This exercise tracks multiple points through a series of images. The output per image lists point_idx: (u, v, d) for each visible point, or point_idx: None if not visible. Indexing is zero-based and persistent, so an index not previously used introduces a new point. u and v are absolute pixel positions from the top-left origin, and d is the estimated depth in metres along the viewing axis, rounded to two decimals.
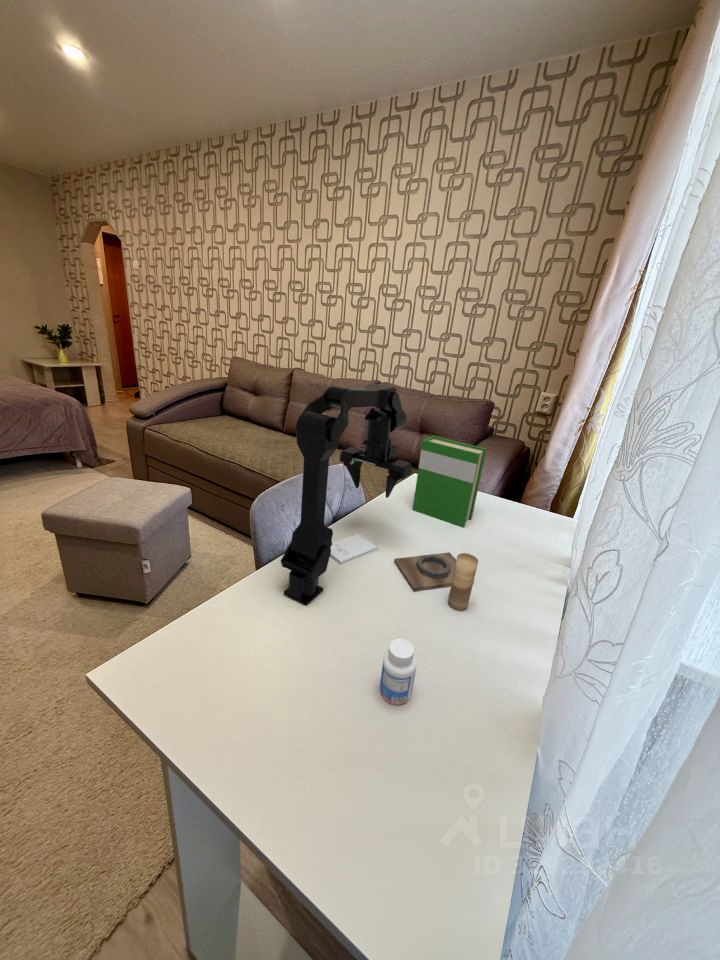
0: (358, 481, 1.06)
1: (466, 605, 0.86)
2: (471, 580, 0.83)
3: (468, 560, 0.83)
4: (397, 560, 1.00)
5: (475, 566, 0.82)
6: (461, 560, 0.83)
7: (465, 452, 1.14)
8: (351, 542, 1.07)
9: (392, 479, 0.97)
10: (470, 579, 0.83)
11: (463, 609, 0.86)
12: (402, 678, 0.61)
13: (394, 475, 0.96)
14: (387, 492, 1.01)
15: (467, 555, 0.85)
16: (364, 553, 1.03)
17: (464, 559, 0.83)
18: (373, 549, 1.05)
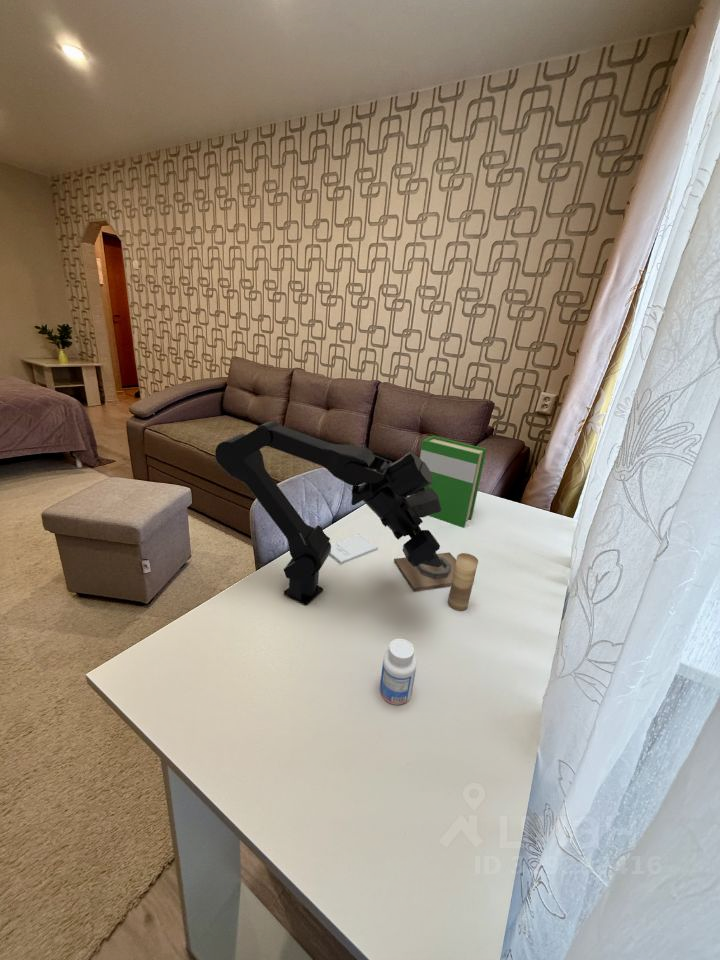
0: None
1: (466, 605, 0.86)
2: (471, 580, 0.83)
3: (468, 560, 0.83)
4: (397, 560, 1.00)
5: (475, 566, 0.82)
6: (461, 560, 0.83)
7: (465, 452, 1.14)
8: (351, 542, 1.07)
9: None
10: (470, 579, 0.83)
11: (463, 609, 0.86)
12: (402, 678, 0.61)
13: None
14: None
15: (467, 555, 0.85)
16: (364, 553, 1.03)
17: (463, 558, 0.83)
18: (373, 549, 1.05)
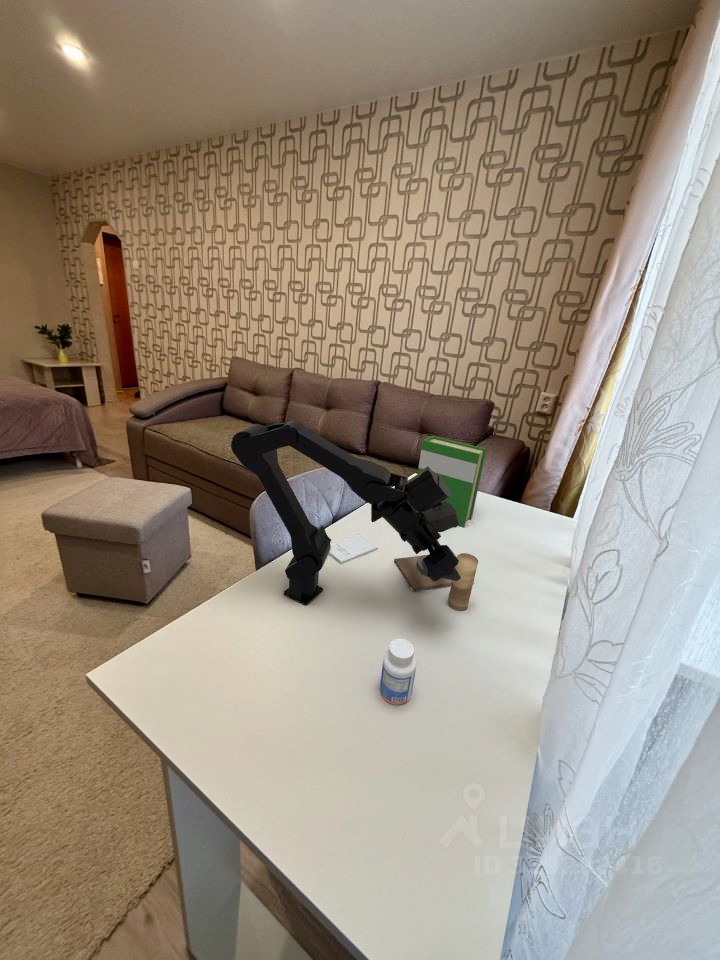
0: None
1: (466, 605, 0.86)
2: (471, 580, 0.83)
3: (468, 560, 0.83)
4: (397, 560, 1.00)
5: (475, 566, 0.82)
6: (461, 560, 0.83)
7: (465, 452, 1.14)
8: (351, 542, 1.07)
9: None
10: (470, 579, 0.83)
11: (463, 609, 0.86)
12: (402, 677, 0.61)
13: None
14: None
15: (467, 555, 0.85)
16: (365, 553, 1.03)
17: (464, 558, 0.83)
18: (374, 549, 1.05)
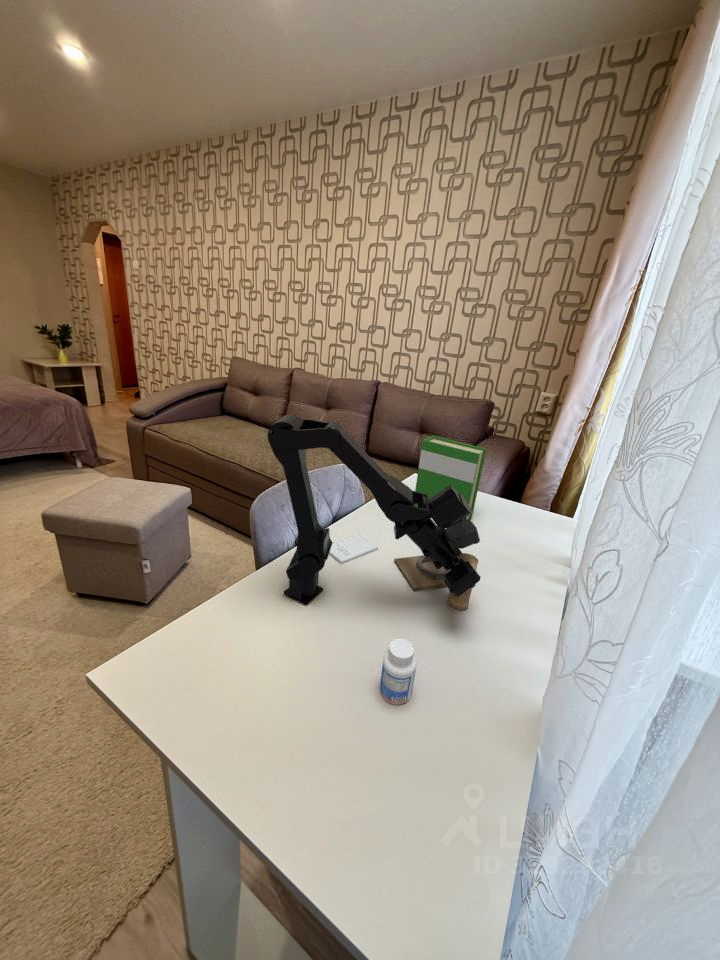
0: None
1: (466, 605, 0.86)
2: None
3: (468, 560, 0.83)
4: (397, 560, 1.00)
5: (475, 566, 0.82)
6: None
7: (465, 452, 1.14)
8: (352, 542, 1.07)
9: None
10: None
11: (463, 609, 0.86)
12: (402, 678, 0.61)
13: None
14: None
15: (467, 555, 0.85)
16: (365, 553, 1.03)
17: (464, 558, 0.83)
18: (374, 549, 1.05)
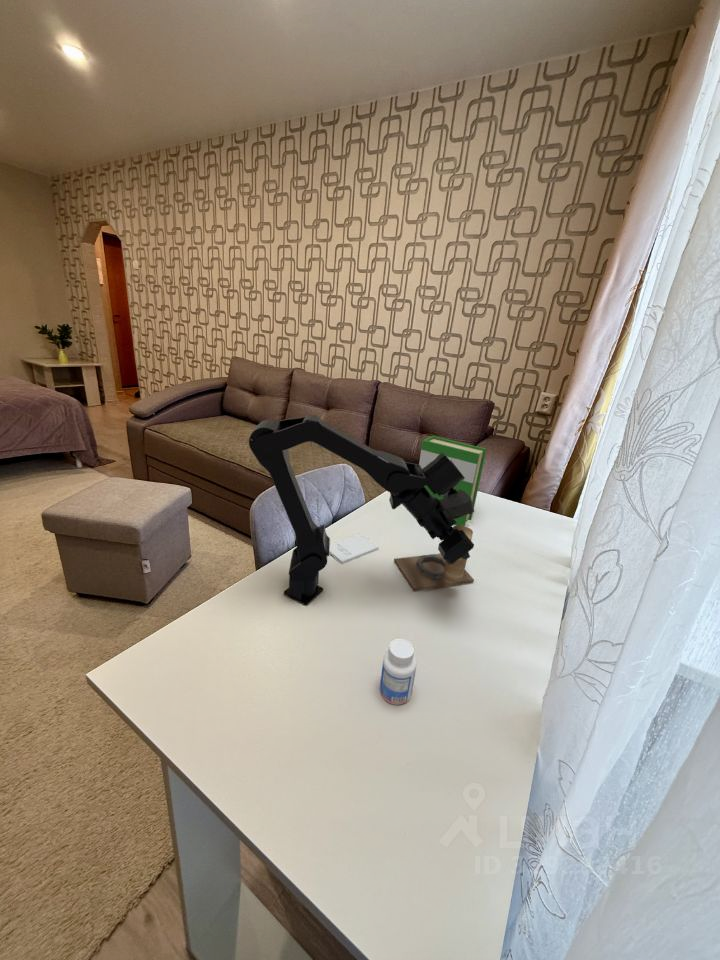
0: None
1: (461, 577, 0.87)
2: None
3: None
4: (397, 560, 1.00)
5: (470, 537, 0.83)
6: None
7: (465, 452, 1.14)
8: (352, 541, 1.07)
9: None
10: None
11: (458, 580, 0.87)
12: (402, 678, 0.61)
13: None
14: None
15: (462, 527, 0.86)
16: (365, 553, 1.03)
17: None
18: (374, 549, 1.05)
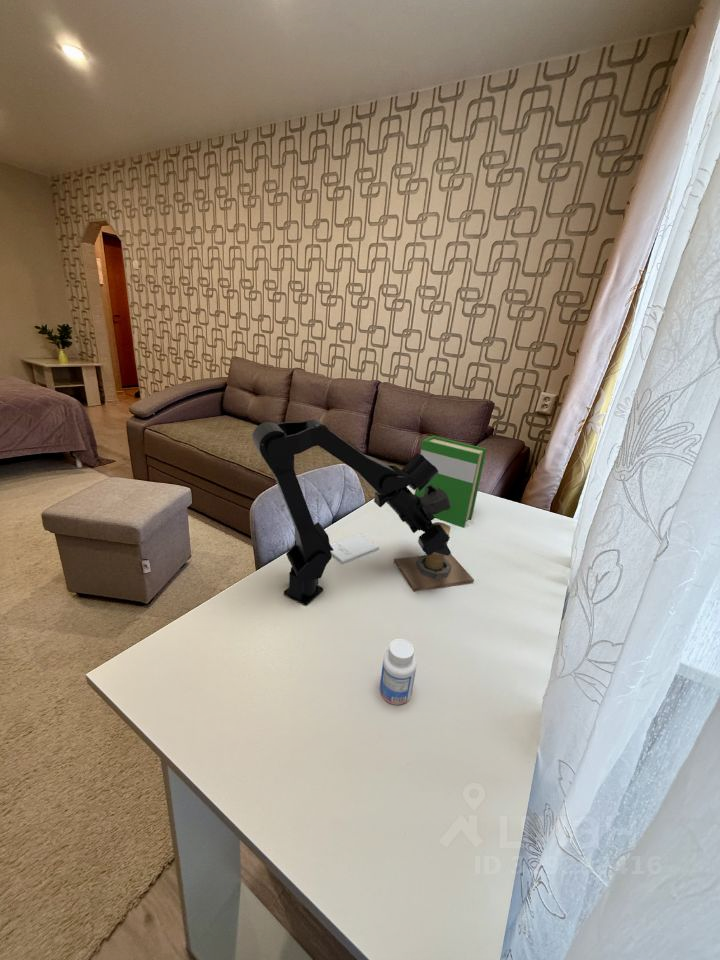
0: None
1: (440, 569, 0.96)
2: None
3: None
4: (397, 560, 1.00)
5: (447, 533, 0.92)
6: None
7: (465, 452, 1.14)
8: (353, 541, 1.07)
9: None
10: None
11: None
12: (402, 678, 0.61)
13: None
14: None
15: (441, 524, 0.95)
16: (366, 553, 1.03)
17: None
18: (375, 549, 1.05)
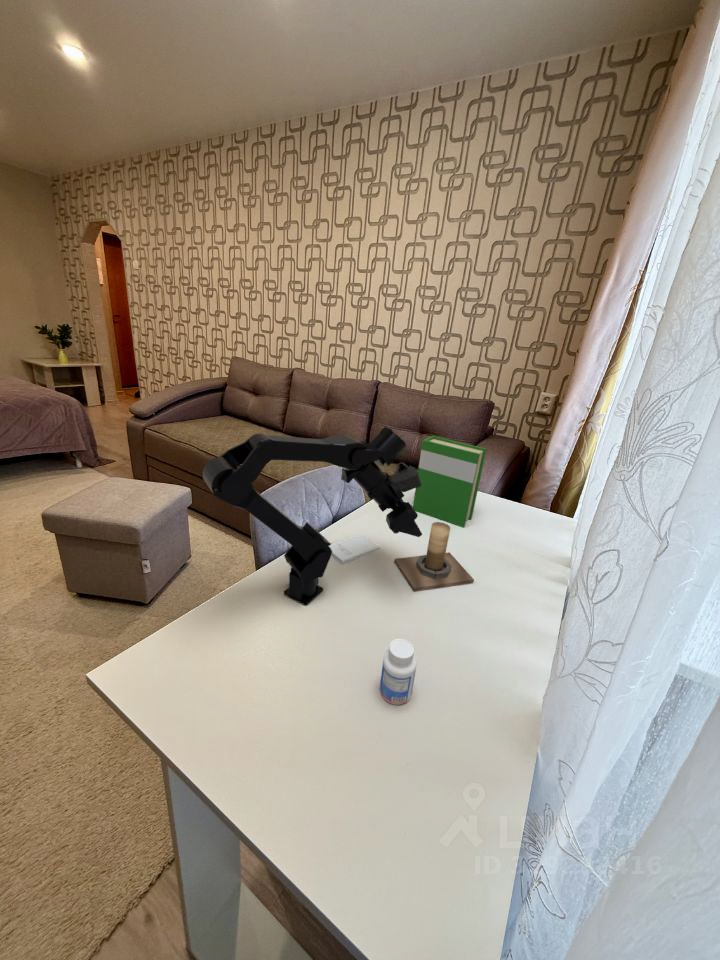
0: None
1: (440, 569, 0.96)
2: (444, 545, 0.93)
3: (441, 527, 0.93)
4: (397, 560, 1.00)
5: (447, 532, 0.92)
6: (435, 527, 0.93)
7: (465, 452, 1.14)
8: (353, 541, 1.07)
9: None
10: (442, 544, 0.93)
11: None
12: (402, 678, 0.61)
13: None
14: None
15: (441, 523, 0.95)
16: (366, 553, 1.03)
17: (437, 526, 0.93)
18: (375, 549, 1.05)
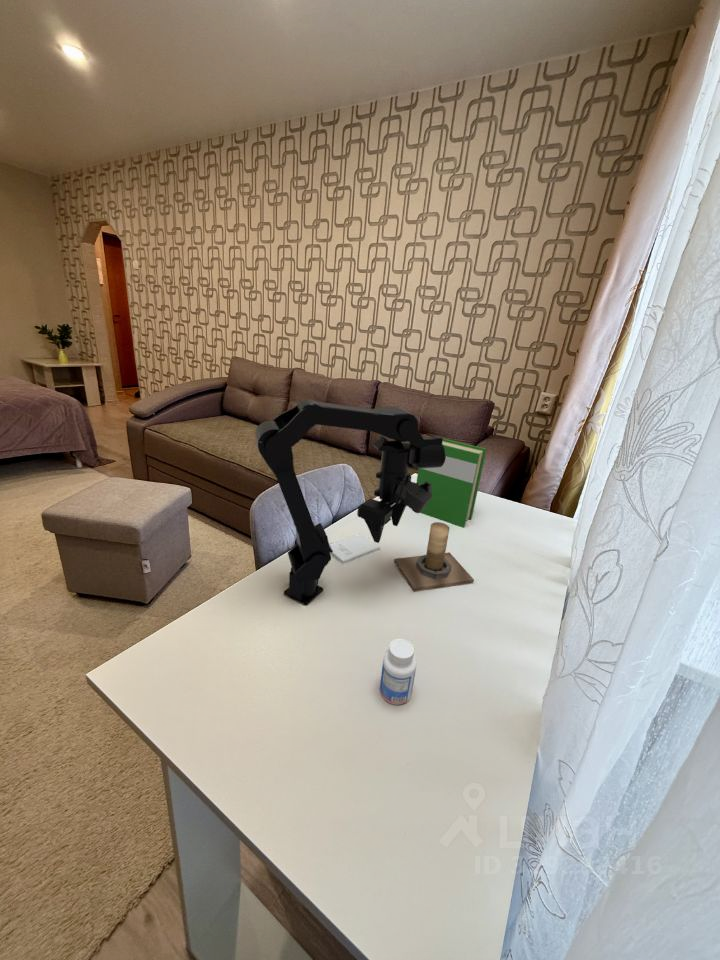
0: (396, 519, 0.91)
1: (440, 569, 0.96)
2: (443, 545, 0.93)
3: (441, 527, 0.93)
4: (397, 560, 1.00)
5: (446, 533, 0.92)
6: (434, 527, 0.93)
7: (465, 452, 1.14)
8: (353, 541, 1.07)
9: None
10: (442, 544, 0.93)
11: None
12: (402, 678, 0.61)
13: None
14: None
15: (440, 524, 0.95)
16: (366, 553, 1.03)
17: (436, 526, 0.93)
18: (375, 549, 1.05)
